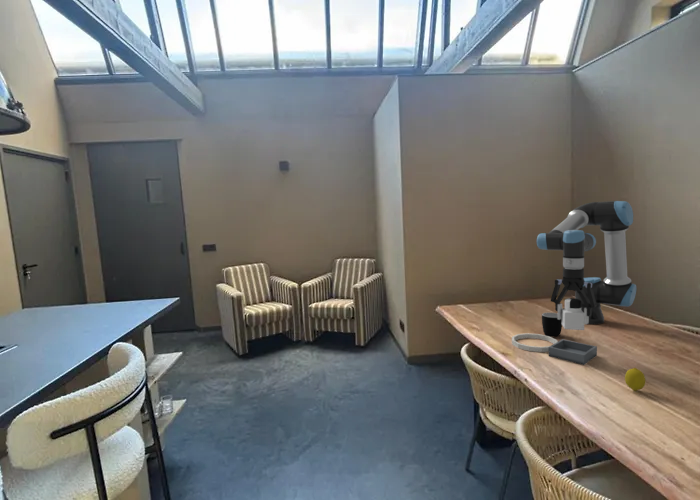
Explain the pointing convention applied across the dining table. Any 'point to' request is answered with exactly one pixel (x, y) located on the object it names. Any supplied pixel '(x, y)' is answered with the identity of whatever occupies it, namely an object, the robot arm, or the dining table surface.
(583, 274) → the robot arm
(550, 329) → the mug
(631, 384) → the lemon
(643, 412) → the dining table surface
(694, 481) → the dining table surface
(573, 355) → the tray
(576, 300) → the medicine bottle
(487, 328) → the dining table surface
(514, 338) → the ring holder
